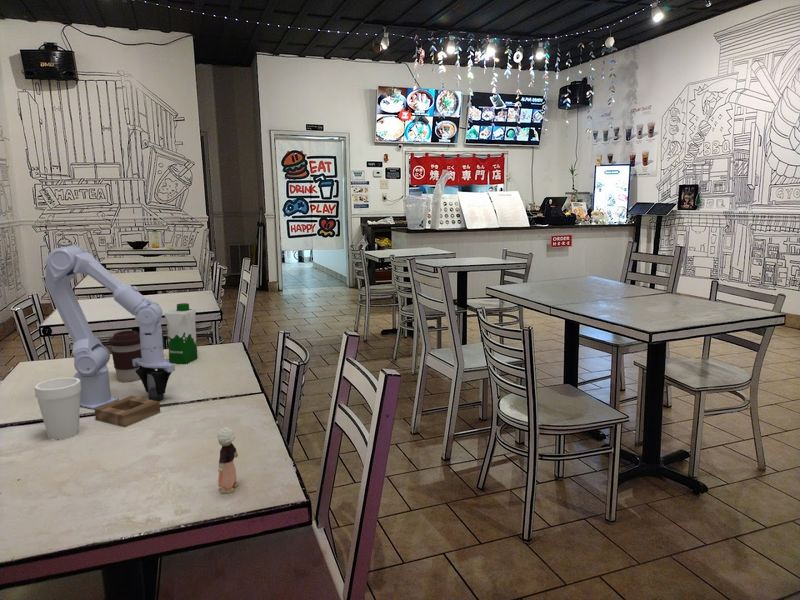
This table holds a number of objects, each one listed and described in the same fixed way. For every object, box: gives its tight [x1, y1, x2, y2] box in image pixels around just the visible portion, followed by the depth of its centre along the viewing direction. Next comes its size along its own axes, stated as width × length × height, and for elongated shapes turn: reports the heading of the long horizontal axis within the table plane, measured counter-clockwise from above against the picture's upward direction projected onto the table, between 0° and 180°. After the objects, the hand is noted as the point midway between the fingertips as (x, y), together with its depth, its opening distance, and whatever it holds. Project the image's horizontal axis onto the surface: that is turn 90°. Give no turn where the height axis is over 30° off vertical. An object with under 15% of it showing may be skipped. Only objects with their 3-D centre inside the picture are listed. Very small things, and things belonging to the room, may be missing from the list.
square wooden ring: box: [94, 395, 162, 428], centre depth 150 cm, size 11×11×3 cm
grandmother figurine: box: [216, 427, 239, 494], centre depth 111 cm, size 8×4×13 cm, turn 5°
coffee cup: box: [108, 330, 142, 383], centre depth 179 cm, size 10×10×15 cm
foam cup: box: [34, 376, 81, 441], centre depth 137 cm, size 10×9×13 cm
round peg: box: [146, 371, 165, 402], centre depth 161 cm, size 4×4×8 cm
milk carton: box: [163, 302, 199, 365], centre depth 198 cm, size 9×9×20 cm
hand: (155, 392), depth 162 cm, fingers closed on round peg, 4 cm apart
